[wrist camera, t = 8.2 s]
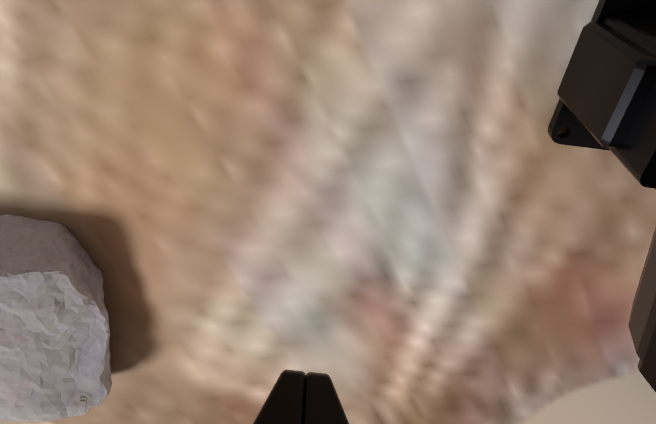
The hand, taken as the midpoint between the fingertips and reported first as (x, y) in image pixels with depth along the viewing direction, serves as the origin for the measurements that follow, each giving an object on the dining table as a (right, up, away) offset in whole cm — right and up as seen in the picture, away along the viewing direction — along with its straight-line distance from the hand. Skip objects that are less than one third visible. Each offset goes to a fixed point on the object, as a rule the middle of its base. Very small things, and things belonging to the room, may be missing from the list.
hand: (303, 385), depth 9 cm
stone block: (-15, -1, +18) cm, 24 cm away
